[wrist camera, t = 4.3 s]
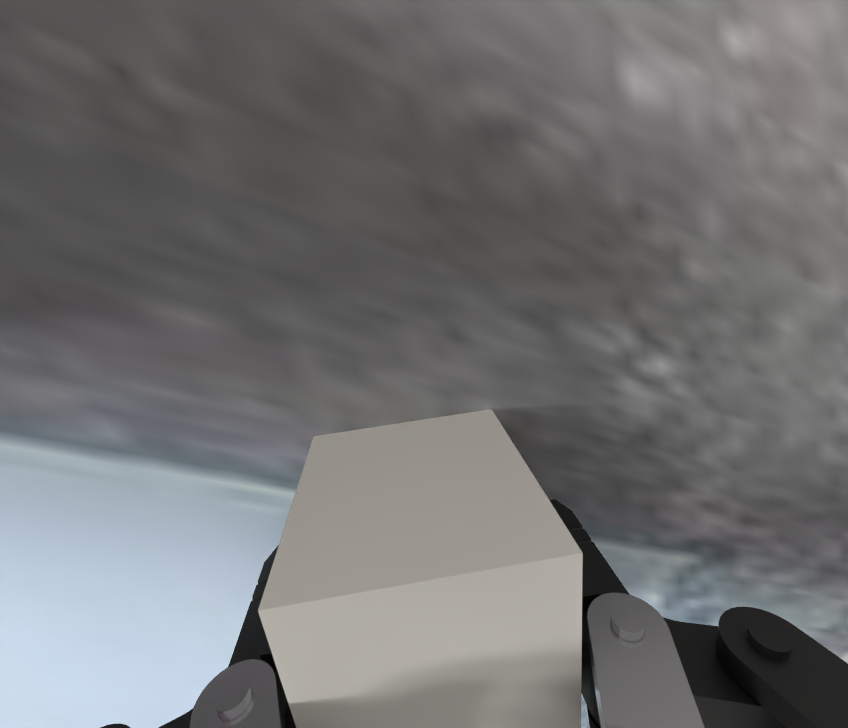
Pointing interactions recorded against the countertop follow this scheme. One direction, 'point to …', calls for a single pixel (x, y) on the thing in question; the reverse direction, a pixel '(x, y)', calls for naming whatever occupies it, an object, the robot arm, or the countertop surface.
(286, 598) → the cream brick
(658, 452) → the countertop surface
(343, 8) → the countertop surface
